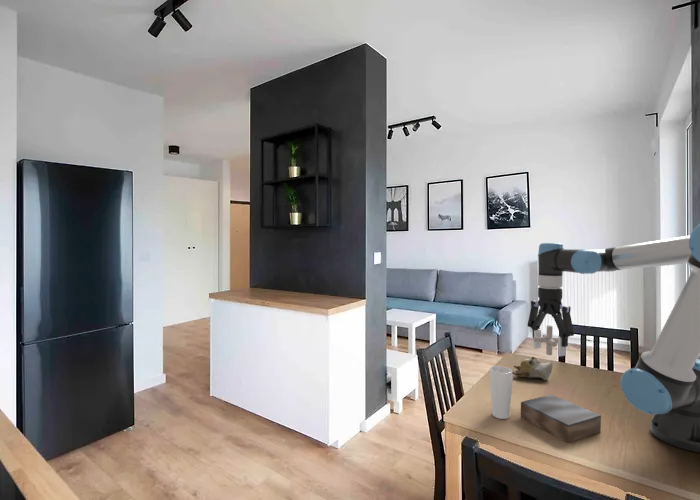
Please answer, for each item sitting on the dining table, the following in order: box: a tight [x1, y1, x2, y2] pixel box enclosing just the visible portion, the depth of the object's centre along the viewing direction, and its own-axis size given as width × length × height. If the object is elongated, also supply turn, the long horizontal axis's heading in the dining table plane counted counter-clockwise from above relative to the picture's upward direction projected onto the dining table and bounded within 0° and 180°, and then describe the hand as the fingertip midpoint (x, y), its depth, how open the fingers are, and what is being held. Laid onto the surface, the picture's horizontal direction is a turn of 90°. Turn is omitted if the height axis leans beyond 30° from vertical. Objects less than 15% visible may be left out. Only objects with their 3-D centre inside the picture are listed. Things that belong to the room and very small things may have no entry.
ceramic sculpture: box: [512, 356, 554, 381], centre depth 153 cm, size 11×9×15 cm
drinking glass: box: [489, 365, 514, 420], centre depth 120 cm, size 7×7×15 cm
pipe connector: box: [532, 325, 558, 356], centre depth 132 cm, size 10×10×10 cm
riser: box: [520, 394, 602, 443], centre depth 115 cm, size 16×14×5 cm
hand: (549, 351), depth 132 cm, fingers closed on pipe connector, 9 cm apart
